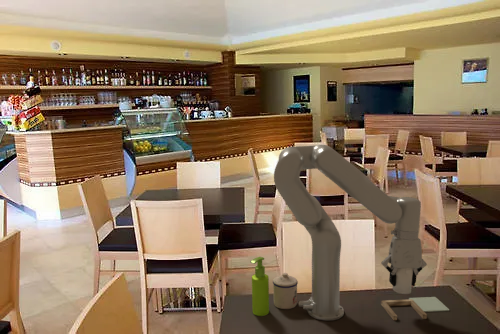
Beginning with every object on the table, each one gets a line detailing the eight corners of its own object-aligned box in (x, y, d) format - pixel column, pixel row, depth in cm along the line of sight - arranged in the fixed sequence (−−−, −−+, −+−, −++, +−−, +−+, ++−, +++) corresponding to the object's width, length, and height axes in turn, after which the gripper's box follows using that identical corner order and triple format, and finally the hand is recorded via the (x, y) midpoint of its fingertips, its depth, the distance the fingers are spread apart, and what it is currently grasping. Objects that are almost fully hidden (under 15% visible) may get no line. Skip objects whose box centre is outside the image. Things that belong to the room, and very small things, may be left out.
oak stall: (393, 320, 139) (393, 316, 139) (381, 304, 150) (381, 300, 150) (426, 318, 139) (426, 314, 139) (412, 303, 150) (412, 299, 150)
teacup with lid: (298, 309, 147) (298, 278, 146) (273, 309, 148) (272, 278, 146) (296, 294, 159) (296, 265, 158) (272, 294, 160) (272, 265, 158)
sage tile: (421, 312, 144) (421, 311, 144) (408, 299, 154) (409, 297, 154) (449, 310, 144) (449, 309, 144) (435, 297, 154) (435, 296, 154)
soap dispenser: (247, 313, 146) (245, 259, 143) (260, 306, 151) (259, 253, 148) (259, 318, 142) (258, 263, 139) (272, 311, 147) (271, 257, 144)
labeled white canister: (397, 295, 138) (399, 269, 137) (388, 284, 147) (390, 260, 145) (415, 295, 139) (417, 269, 137) (404, 284, 147) (406, 260, 146)
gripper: (385, 237, 135) (381, 289, 138) (436, 237, 136) (432, 289, 139) (377, 230, 143) (373, 280, 145) (426, 230, 144) (421, 280, 146)
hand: (402, 284), depth 142 cm, fingers closed on labeled white canister, 6 cm apart
